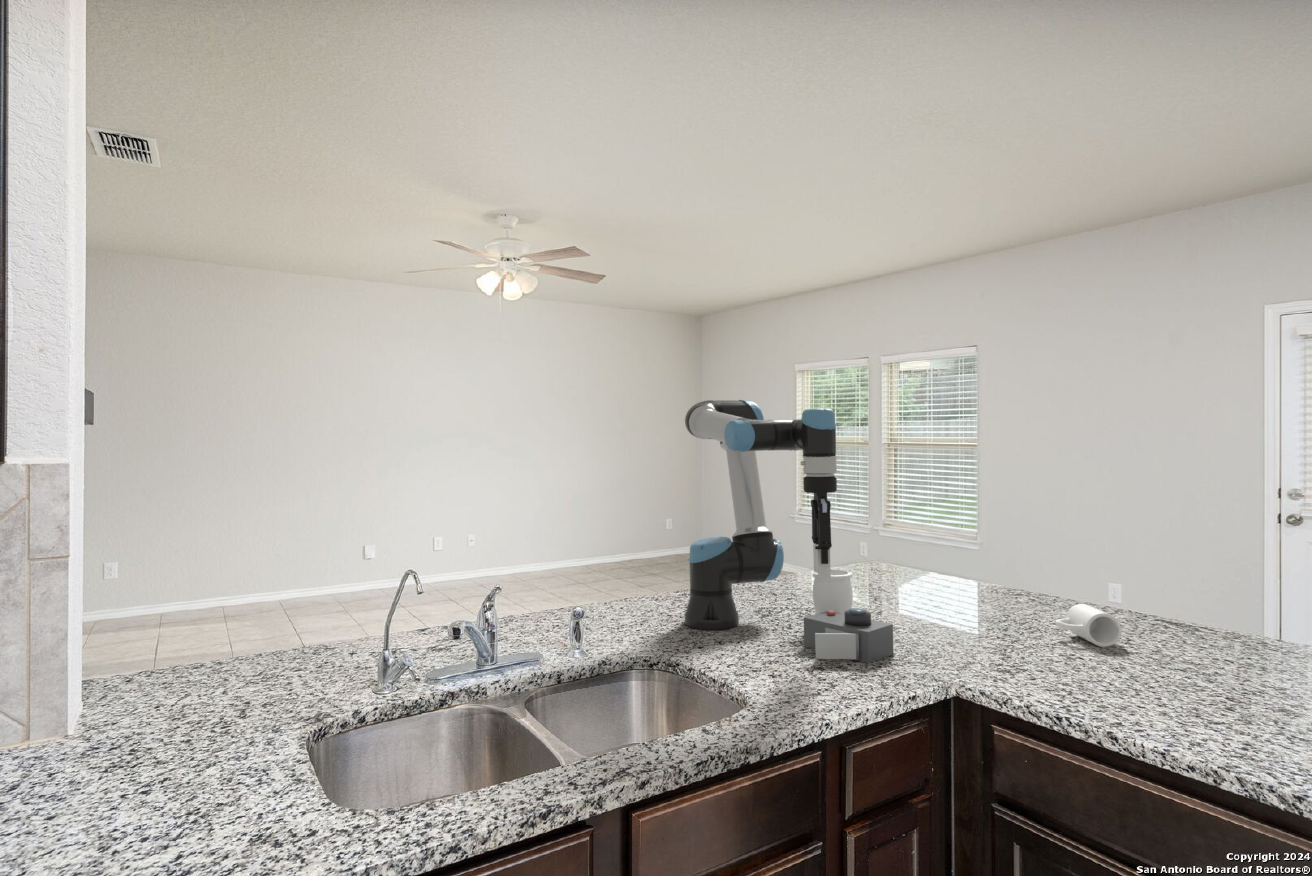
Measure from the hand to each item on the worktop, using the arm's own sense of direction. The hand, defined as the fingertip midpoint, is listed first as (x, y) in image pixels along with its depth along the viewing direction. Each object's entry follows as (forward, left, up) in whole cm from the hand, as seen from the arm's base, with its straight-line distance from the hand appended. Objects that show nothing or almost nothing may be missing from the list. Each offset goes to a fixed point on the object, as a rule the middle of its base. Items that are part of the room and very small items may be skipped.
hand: (822, 574), depth 155 cm
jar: (-13, +22, -19) cm, 32 cm away
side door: (+4, 0, -18) cm, 19 cm away
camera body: (+1, +8, -19) cm, 21 cm away
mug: (+35, +57, -19) cm, 69 cm away
